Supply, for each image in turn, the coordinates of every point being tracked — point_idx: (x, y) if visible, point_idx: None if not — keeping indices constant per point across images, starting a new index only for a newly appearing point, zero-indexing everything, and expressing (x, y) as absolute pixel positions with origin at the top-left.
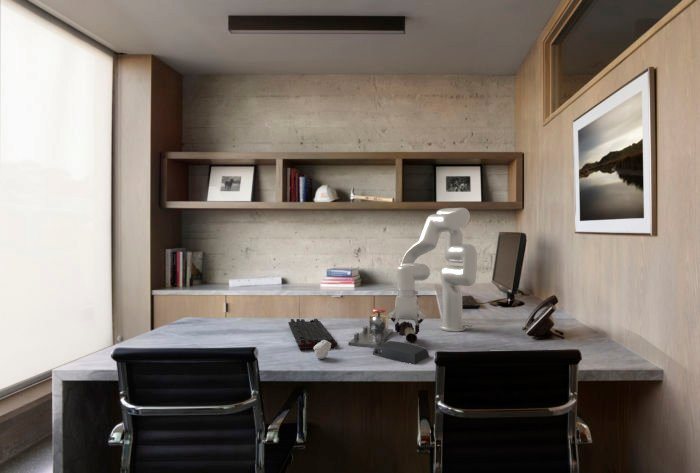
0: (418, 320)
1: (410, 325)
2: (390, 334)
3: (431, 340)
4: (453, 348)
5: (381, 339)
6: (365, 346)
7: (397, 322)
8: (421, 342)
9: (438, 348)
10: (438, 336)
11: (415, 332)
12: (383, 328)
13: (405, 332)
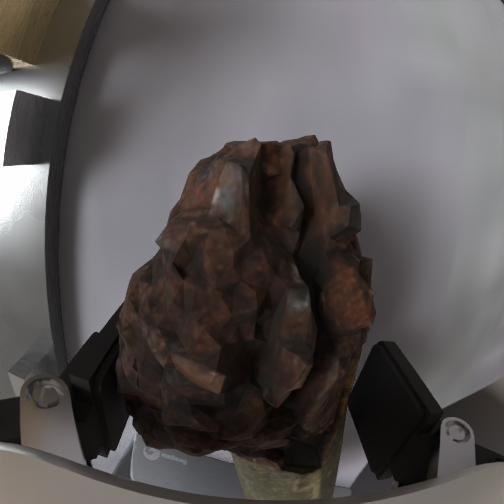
0: (464, 467)
1: (324, 407)
2: (78, 80)
3: (456, 228)
4: (493, 369)
5: (43, 343)
6: None
7: (91, 455)
8: (378, 302)
9: (436, 396)
10: (497, 111)
11: (354, 414)
12: (2, 64)
13: (242, 489)
